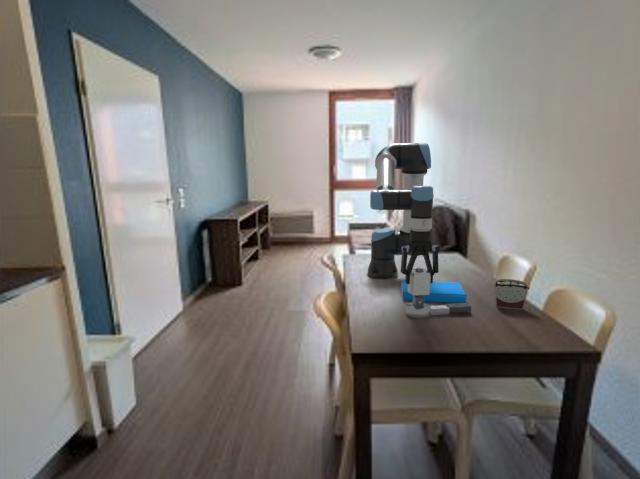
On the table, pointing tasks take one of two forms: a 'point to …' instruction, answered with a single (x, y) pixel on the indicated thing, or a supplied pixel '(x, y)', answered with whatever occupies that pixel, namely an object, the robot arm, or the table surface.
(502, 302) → the food container
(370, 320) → the table surface
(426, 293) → the grey block with knob
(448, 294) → the book
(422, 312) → the ratchet
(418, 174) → the robot arm
